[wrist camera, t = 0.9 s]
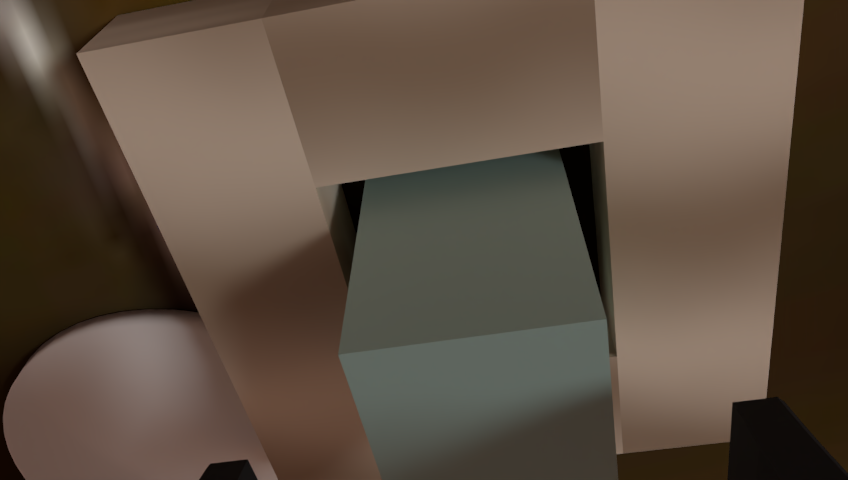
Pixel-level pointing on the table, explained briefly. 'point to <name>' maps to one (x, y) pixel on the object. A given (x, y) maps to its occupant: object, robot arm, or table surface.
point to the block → (478, 327)
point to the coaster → (129, 403)
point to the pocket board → (453, 145)
